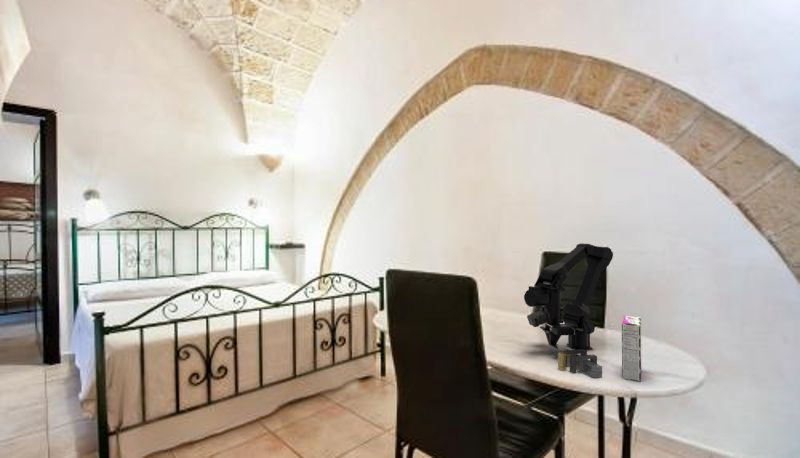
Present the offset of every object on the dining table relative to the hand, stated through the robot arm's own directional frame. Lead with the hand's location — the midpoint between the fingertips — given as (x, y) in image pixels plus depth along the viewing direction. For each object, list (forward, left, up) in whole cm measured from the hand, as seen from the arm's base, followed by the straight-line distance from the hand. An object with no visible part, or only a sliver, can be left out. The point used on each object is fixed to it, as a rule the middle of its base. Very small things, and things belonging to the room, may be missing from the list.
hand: (551, 348), depth 137 cm
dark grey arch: (0, +18, -1) cm, 18 cm away
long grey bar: (-1, +12, -1) cm, 12 cm away
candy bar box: (-13, +22, -2) cm, 26 cm away
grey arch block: (0, +13, -1) cm, 13 cm away
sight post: (+5, +16, -1) cm, 17 cm away
